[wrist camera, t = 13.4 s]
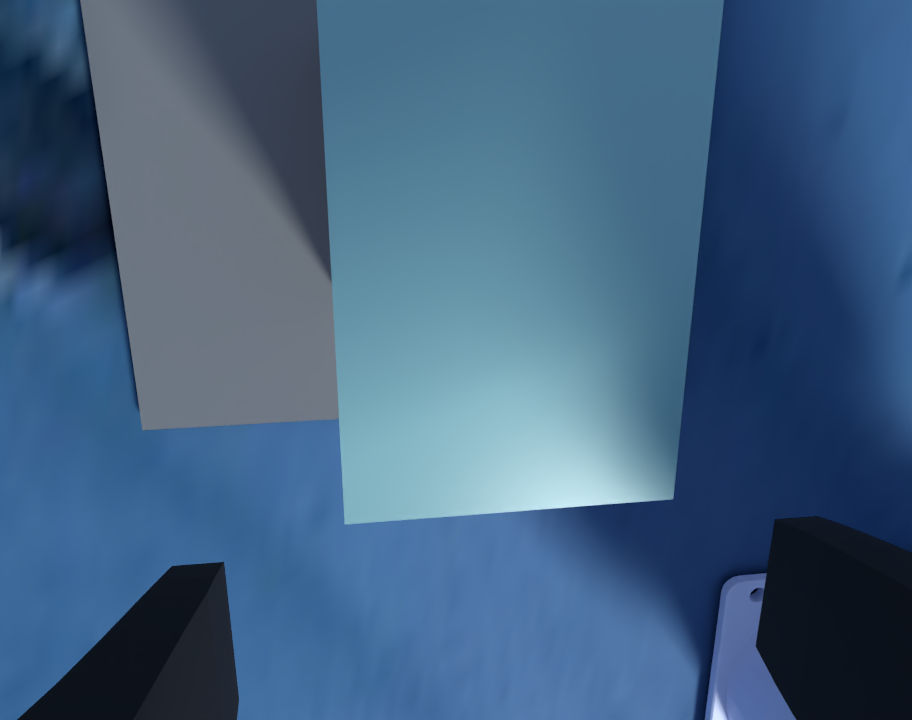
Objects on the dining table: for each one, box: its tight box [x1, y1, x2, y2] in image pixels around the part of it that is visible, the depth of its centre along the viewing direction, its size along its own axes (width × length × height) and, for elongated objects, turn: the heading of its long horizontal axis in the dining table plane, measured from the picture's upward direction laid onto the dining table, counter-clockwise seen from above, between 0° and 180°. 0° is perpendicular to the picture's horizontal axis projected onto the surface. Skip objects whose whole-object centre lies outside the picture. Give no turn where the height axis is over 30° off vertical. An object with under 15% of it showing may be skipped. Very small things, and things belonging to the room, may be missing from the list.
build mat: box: [80, 0, 339, 430], centre depth 17 cm, size 14×12×1 cm
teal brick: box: [317, 0, 724, 524], centre depth 10 cm, size 4×6×5 cm, turn 0°
